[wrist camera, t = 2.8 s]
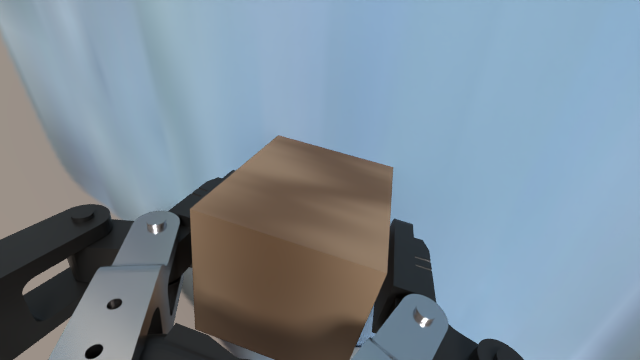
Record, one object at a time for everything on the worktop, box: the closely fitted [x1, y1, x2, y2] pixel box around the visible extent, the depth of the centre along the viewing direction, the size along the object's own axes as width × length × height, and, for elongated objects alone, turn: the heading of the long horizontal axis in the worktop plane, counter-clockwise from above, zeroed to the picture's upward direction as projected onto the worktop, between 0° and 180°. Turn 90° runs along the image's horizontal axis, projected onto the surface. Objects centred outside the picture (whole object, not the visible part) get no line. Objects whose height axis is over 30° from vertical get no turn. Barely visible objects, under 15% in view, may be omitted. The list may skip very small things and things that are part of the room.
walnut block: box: [190, 135, 393, 360], centre depth 11 cm, size 5×5×6 cm
